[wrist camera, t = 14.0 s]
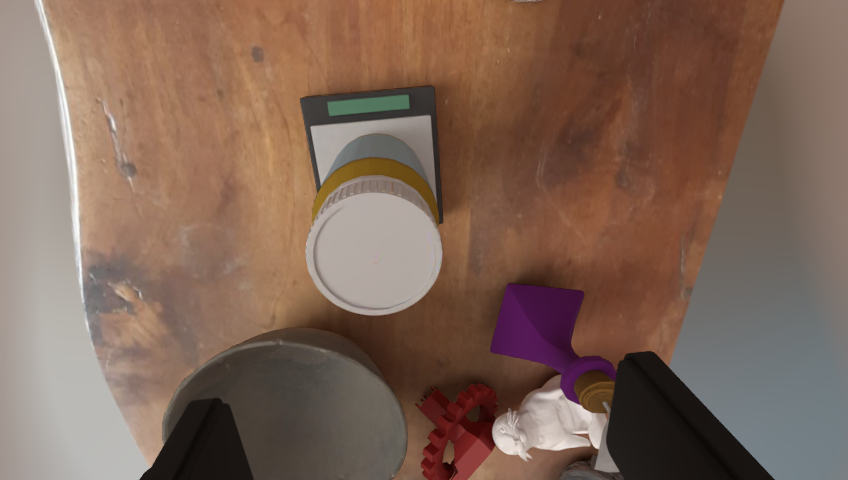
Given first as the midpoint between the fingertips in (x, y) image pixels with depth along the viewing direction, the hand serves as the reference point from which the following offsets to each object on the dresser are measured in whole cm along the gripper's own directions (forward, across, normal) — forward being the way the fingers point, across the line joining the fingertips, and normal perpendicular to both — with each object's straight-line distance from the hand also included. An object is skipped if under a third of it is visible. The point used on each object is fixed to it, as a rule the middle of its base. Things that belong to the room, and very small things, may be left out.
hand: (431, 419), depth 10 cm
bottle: (+24, +2, 0) cm, 25 cm away
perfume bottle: (+27, -12, +15) cm, 33 cm away
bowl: (+27, +10, +19) cm, 35 cm away
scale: (+27, +2, -1) cm, 27 cm away
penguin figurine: (+24, -19, +25) cm, 39 cm away
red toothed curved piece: (+22, -6, +29) cm, 37 cm away
